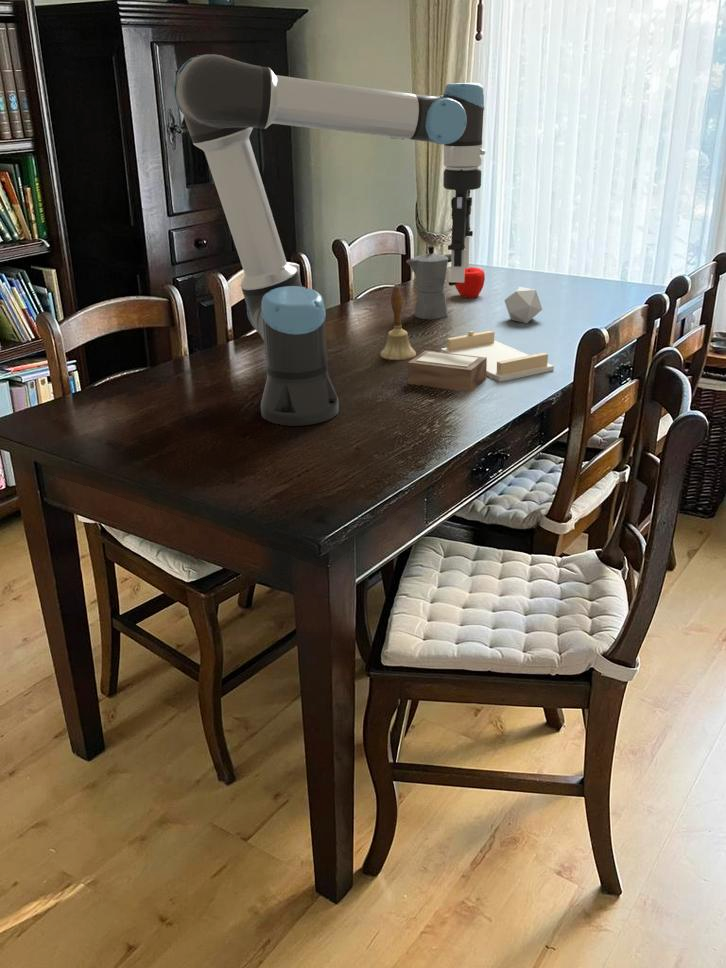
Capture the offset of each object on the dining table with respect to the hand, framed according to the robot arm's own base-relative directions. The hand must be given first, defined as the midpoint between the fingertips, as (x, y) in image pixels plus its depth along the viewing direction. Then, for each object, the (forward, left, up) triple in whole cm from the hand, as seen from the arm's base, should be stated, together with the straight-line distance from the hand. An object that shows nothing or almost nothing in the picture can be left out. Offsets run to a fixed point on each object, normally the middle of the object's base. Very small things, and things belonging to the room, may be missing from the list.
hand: (459, 275), depth 188 cm
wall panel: (+10, 0, -21) cm, 23 cm away
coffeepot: (+19, +42, -21) cm, 51 cm away
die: (+35, +25, -21) cm, 48 cm away
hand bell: (-6, +16, -21) cm, 27 cm away
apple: (+37, +54, -21) cm, 69 cm away
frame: (-6, -6, -21) cm, 23 cm away
